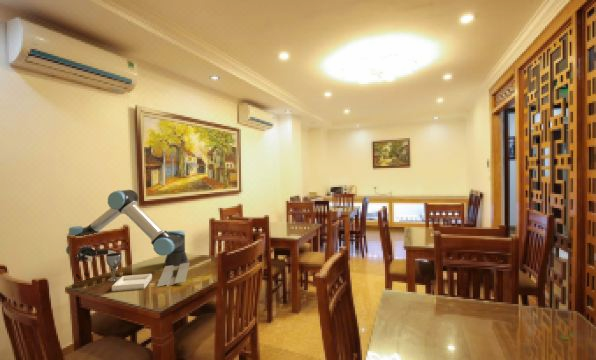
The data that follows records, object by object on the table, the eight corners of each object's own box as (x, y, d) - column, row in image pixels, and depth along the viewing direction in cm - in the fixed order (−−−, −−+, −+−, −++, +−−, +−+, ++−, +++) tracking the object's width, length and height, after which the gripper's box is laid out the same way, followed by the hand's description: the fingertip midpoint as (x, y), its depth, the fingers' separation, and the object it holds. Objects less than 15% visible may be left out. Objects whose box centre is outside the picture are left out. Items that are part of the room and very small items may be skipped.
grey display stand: (191, 288, 172) (194, 266, 183) (185, 281, 166) (189, 258, 177) (162, 293, 171) (167, 270, 182) (156, 286, 165) (161, 263, 176)
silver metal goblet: (112, 276, 182) (111, 252, 181) (125, 276, 182) (124, 252, 181) (103, 281, 174) (102, 256, 174) (116, 281, 174) (116, 256, 173)
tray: (152, 278, 178) (151, 273, 178) (144, 288, 162) (144, 283, 162) (122, 281, 174) (122, 276, 174) (111, 291, 159) (111, 286, 158)
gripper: (104, 253, 203) (123, 257, 193) (61, 263, 181) (81, 268, 171) (104, 242, 203) (123, 245, 193) (61, 250, 180) (81, 255, 171)
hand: (103, 256), depth 182 cm, fingers open, 13 cm apart
